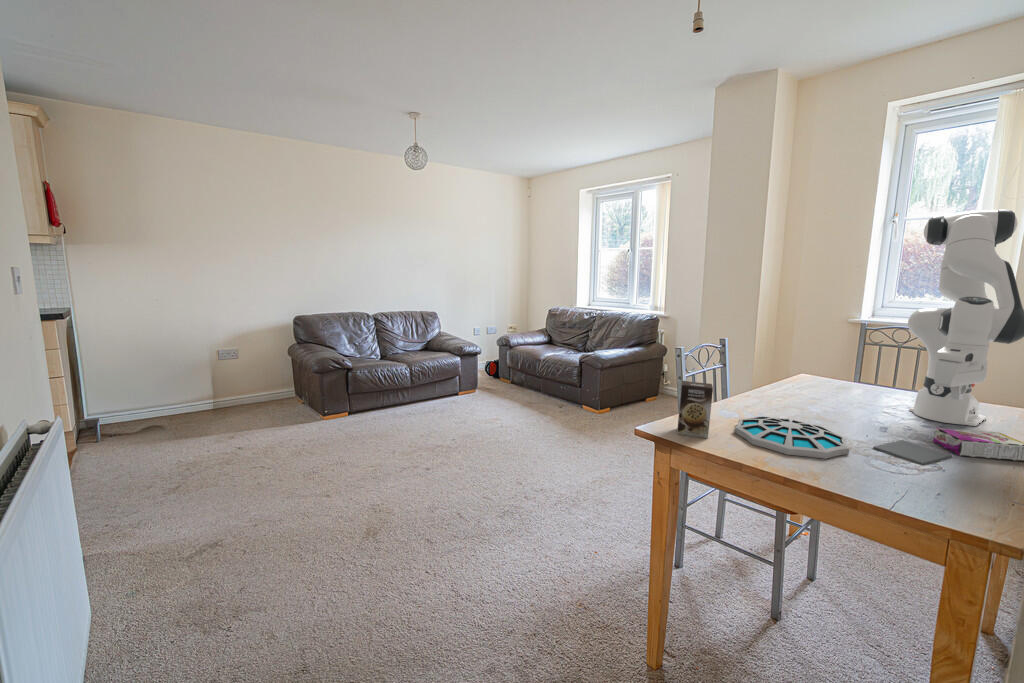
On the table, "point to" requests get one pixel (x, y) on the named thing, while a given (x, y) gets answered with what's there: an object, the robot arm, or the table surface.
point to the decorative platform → (792, 437)
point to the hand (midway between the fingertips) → (957, 398)
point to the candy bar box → (980, 444)
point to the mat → (912, 452)
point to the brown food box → (695, 409)
